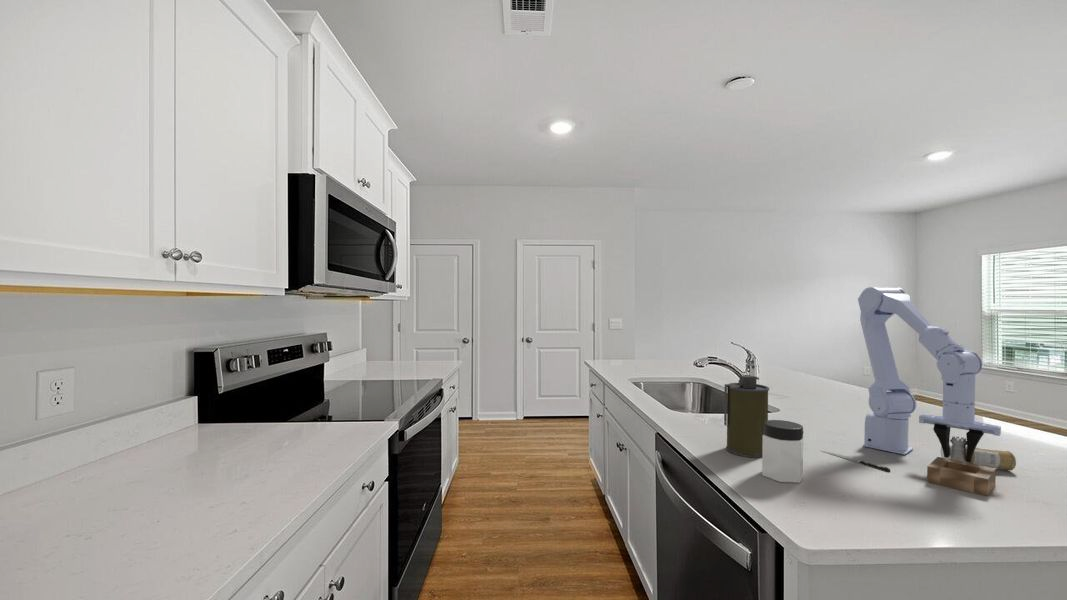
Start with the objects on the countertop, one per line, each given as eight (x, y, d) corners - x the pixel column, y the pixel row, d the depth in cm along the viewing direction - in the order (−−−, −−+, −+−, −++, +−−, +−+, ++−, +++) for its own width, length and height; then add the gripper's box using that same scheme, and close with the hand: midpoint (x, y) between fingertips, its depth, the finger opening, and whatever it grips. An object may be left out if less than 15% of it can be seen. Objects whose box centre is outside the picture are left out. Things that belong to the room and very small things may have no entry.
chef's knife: (820, 449, 133) (812, 450, 132) (820, 445, 133) (813, 446, 132) (896, 472, 115) (889, 473, 114) (896, 467, 116) (889, 468, 114)
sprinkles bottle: (1005, 447, 118) (941, 439, 121) (1019, 457, 113) (952, 448, 116) (1001, 465, 119) (937, 456, 122) (1014, 474, 114) (948, 465, 117)
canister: (760, 446, 134) (760, 373, 134) (775, 458, 123) (776, 380, 123) (719, 444, 135) (720, 372, 135) (731, 456, 125) (731, 379, 124)
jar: (812, 480, 109) (813, 427, 109) (788, 486, 106) (788, 431, 105) (777, 467, 117) (777, 417, 117) (753, 472, 114) (754, 421, 114)
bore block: (927, 481, 109) (927, 466, 109) (937, 471, 115) (937, 456, 115) (987, 496, 101) (988, 479, 101) (995, 484, 107) (995, 468, 107)
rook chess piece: (941, 468, 117) (941, 435, 117) (959, 468, 117) (959, 435, 117) (958, 475, 113) (958, 440, 113) (976, 474, 113) (977, 440, 113)
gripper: (916, 399, 118) (915, 454, 118) (998, 410, 107) (996, 471, 107) (923, 395, 123) (922, 448, 123) (1002, 405, 111) (1001, 464, 112)
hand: (957, 459), depth 115 cm, fingers open, 3 cm apart
